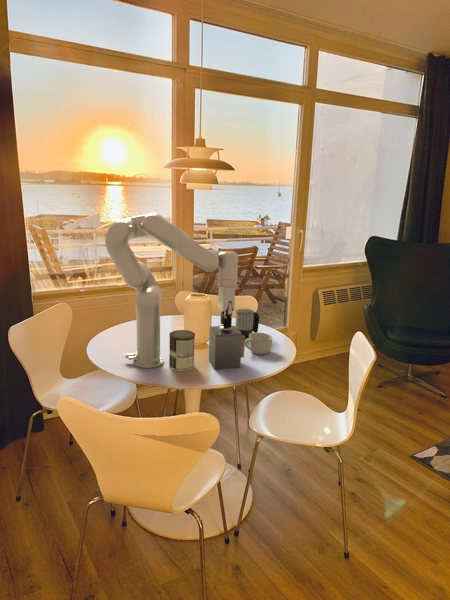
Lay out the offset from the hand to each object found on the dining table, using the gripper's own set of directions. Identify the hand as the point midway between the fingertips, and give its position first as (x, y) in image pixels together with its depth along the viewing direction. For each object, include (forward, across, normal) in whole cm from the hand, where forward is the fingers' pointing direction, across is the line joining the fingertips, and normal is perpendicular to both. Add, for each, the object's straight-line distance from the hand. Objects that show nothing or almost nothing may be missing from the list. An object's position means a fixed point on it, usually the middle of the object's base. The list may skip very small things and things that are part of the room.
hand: (225, 325), depth 178 cm
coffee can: (+17, 0, -18) cm, 25 cm away
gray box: (+17, 0, +1) cm, 17 cm away
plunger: (+14, 0, 0) cm, 14 cm away
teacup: (+17, -11, +18) cm, 27 cm away
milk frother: (+17, -34, +17) cm, 41 cm away
